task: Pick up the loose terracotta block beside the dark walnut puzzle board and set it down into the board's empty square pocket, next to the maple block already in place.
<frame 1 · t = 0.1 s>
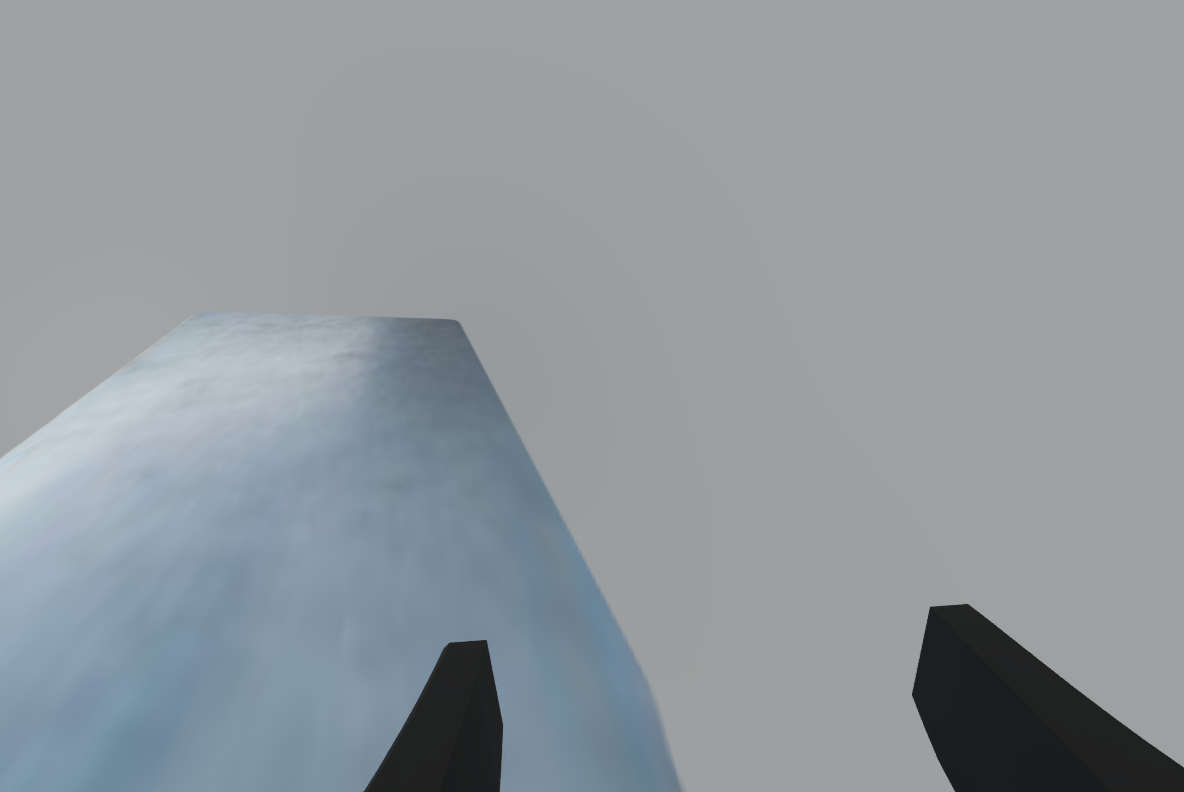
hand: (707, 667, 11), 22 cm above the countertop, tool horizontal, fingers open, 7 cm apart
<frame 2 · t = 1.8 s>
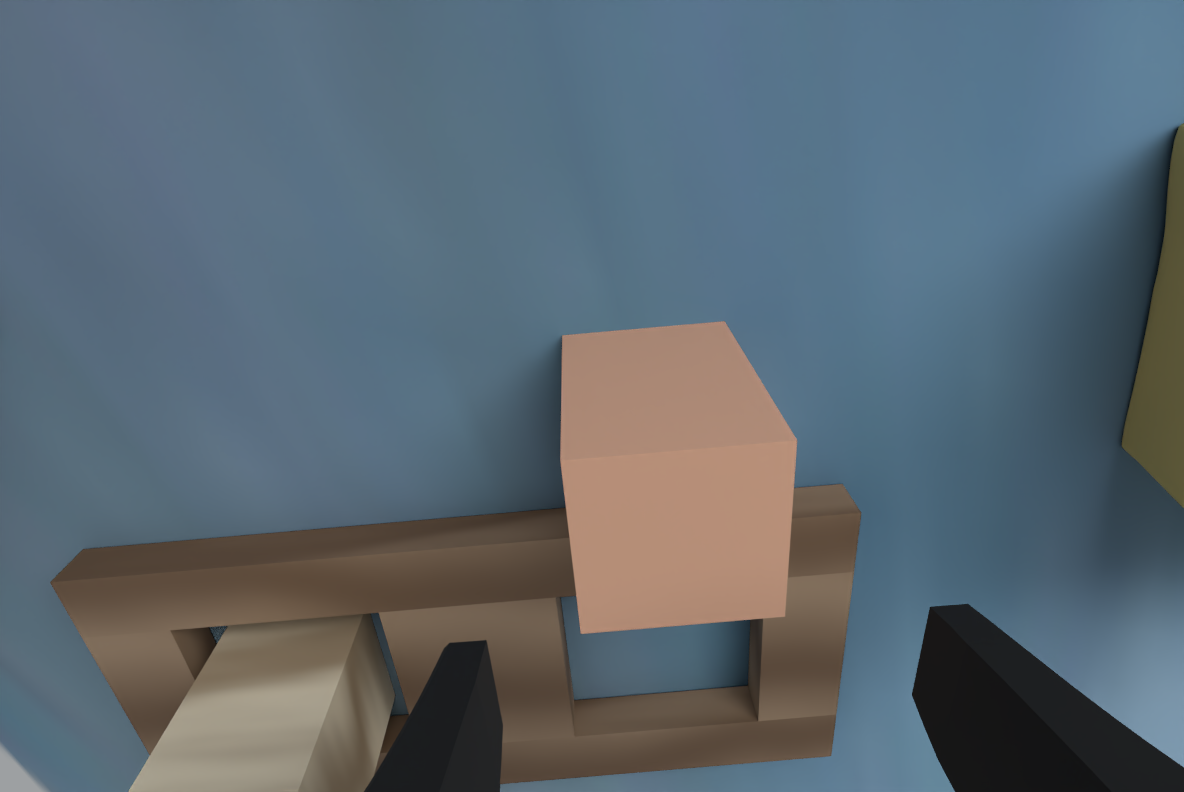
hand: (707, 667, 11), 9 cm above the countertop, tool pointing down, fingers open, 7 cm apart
terracotta block: (646, 400, 19), on the countertop
maple block: (318, 656, 24), resting in puzzle board
puzzle board: (487, 643, 23), on the countertop
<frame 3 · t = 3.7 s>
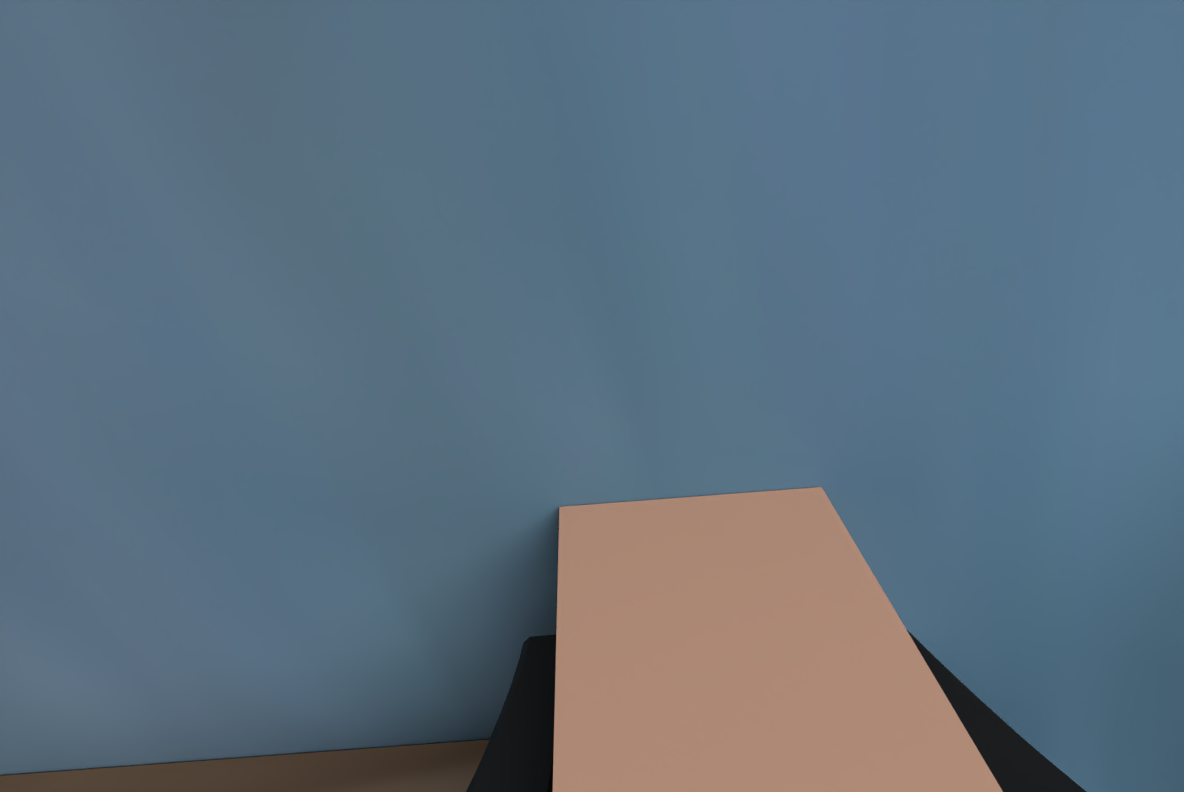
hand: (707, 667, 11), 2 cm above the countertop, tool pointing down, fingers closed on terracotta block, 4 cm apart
terracotta block: (690, 596, 12), on the countertop, touching gripper
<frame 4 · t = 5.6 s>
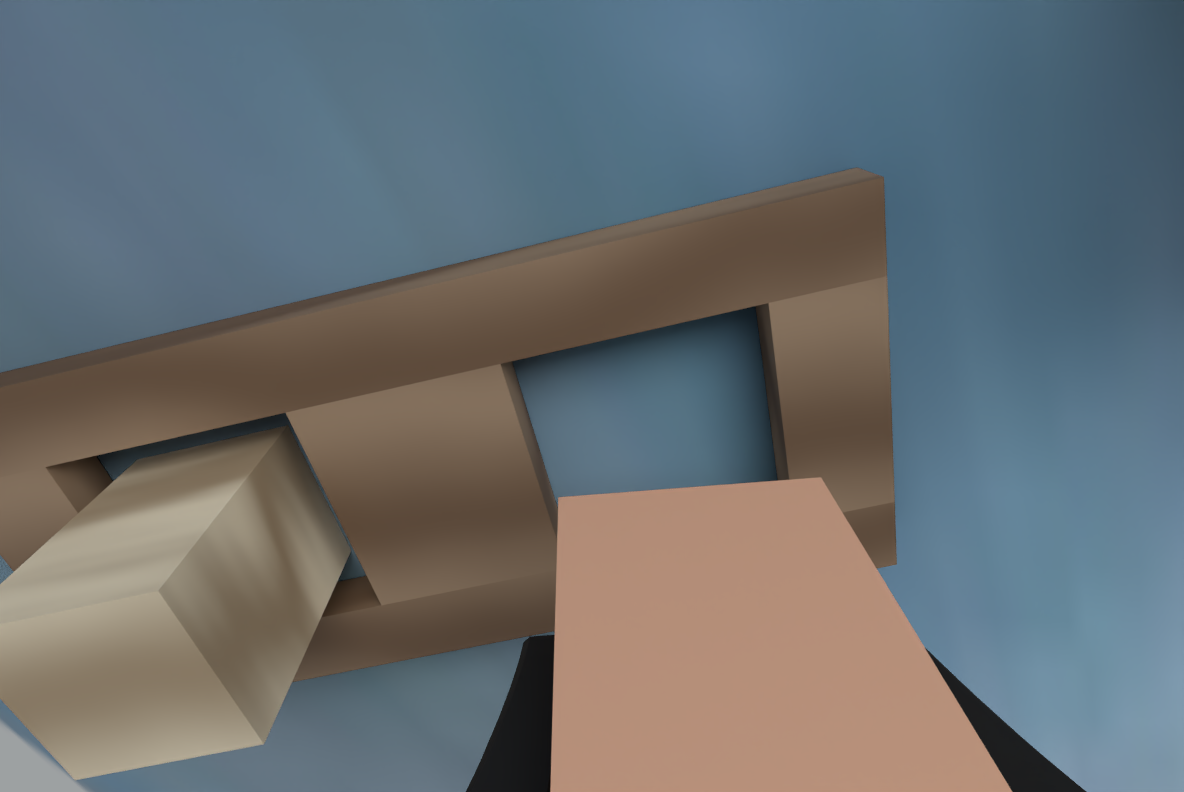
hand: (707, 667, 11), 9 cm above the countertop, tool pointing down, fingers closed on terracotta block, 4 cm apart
terracotta block: (690, 587, 12), point 7 cm above the countertop, touching gripper
maple block: (249, 506, 20), resting in puzzle board
puzzle board: (444, 465, 19), on the countertop
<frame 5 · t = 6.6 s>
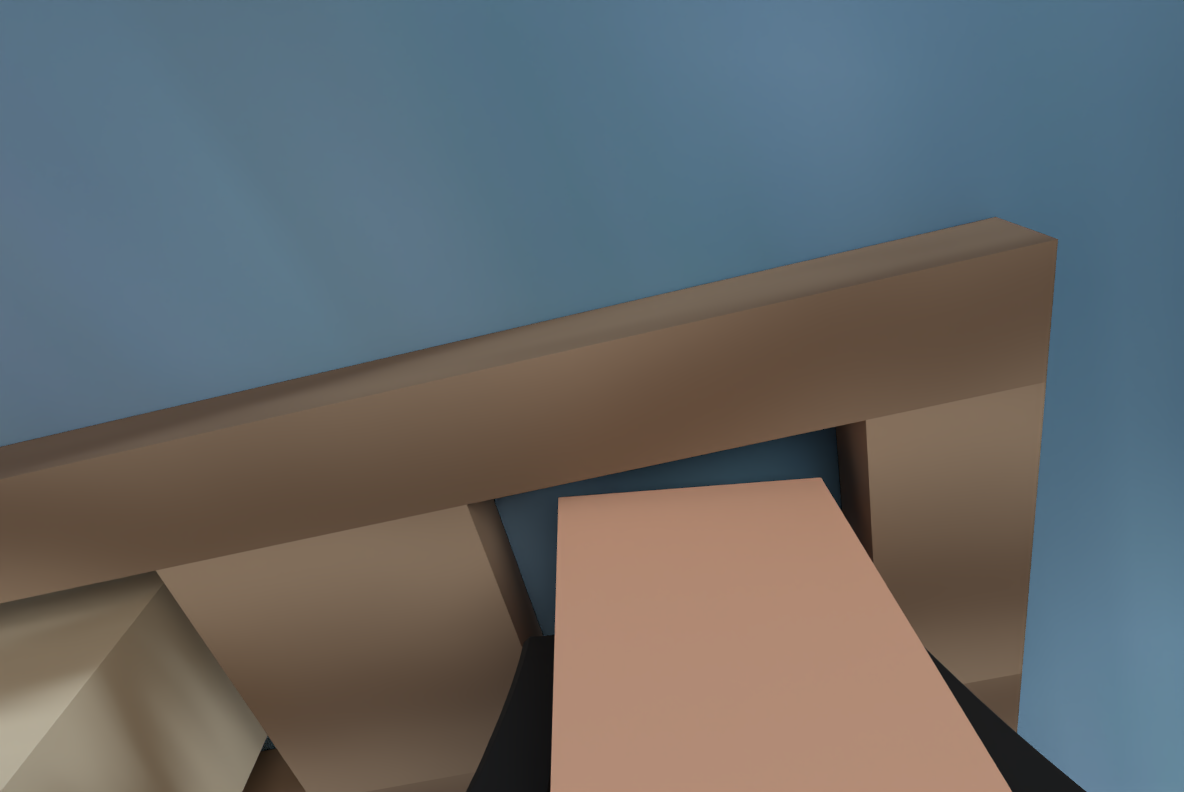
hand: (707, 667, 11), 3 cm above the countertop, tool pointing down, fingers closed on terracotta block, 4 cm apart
terracotta block: (690, 588, 12), point 1 cm above the countertop, touching gripper
maple block: (134, 664, 14), resting in puzzle board
puzzle board: (398, 613, 14), on the countertop
when the fingers open (3 cm above the countertop, at t = 7.5 s): terracotta block stays where it is, resting in puzzle board.
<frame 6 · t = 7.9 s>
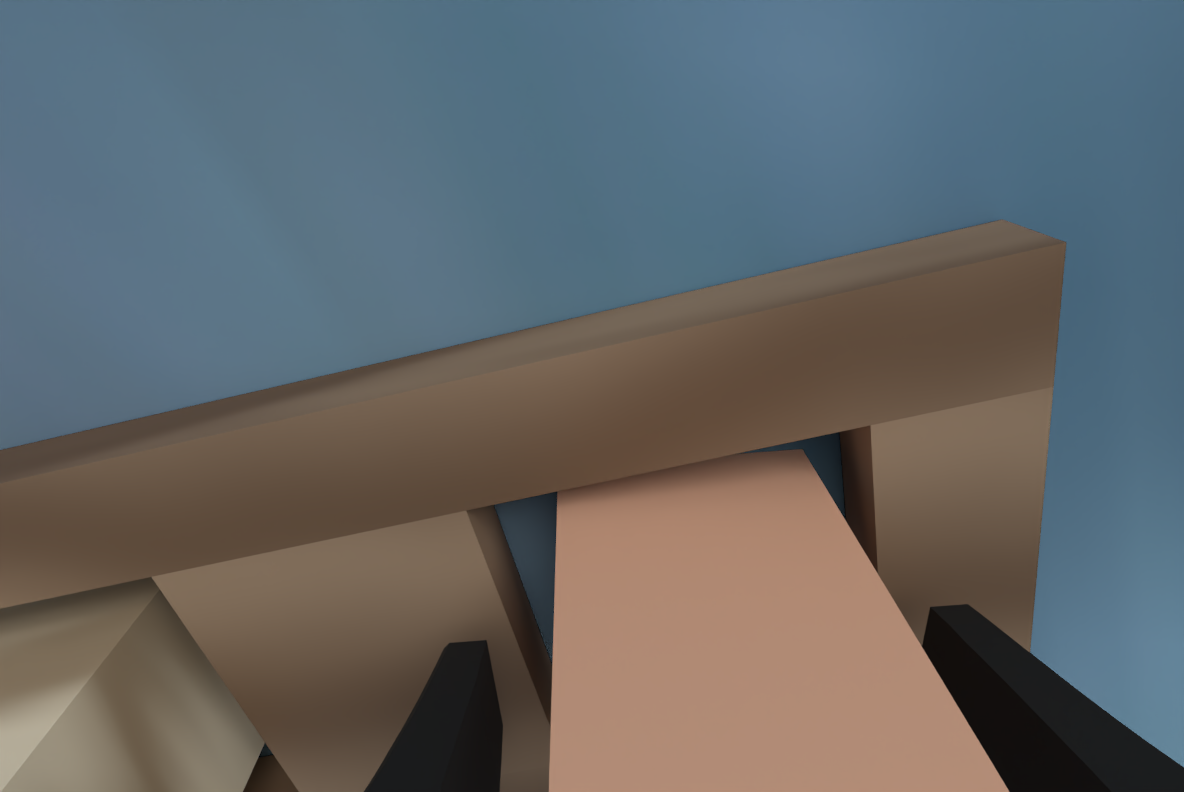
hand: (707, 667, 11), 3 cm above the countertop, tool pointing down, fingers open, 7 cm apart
terracotta block: (681, 553, 13), resting in puzzle board
maple block: (130, 670, 14), resting in puzzle board
puzzle board: (396, 619, 14), on the countertop
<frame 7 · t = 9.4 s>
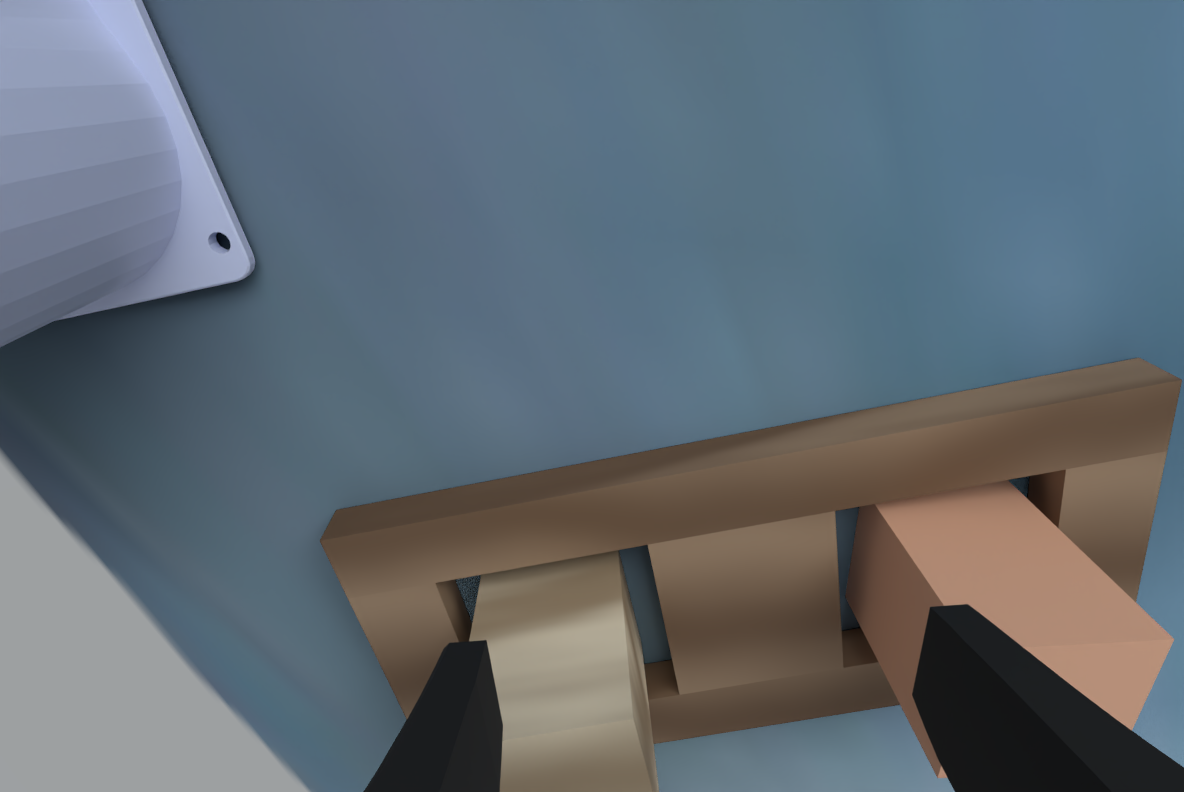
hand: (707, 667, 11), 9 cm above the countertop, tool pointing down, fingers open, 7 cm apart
terracotta block: (921, 540, 22), resting in puzzle board
maple block: (564, 606, 23), resting in puzzle board
puzzle board: (740, 577, 22), on the countertop
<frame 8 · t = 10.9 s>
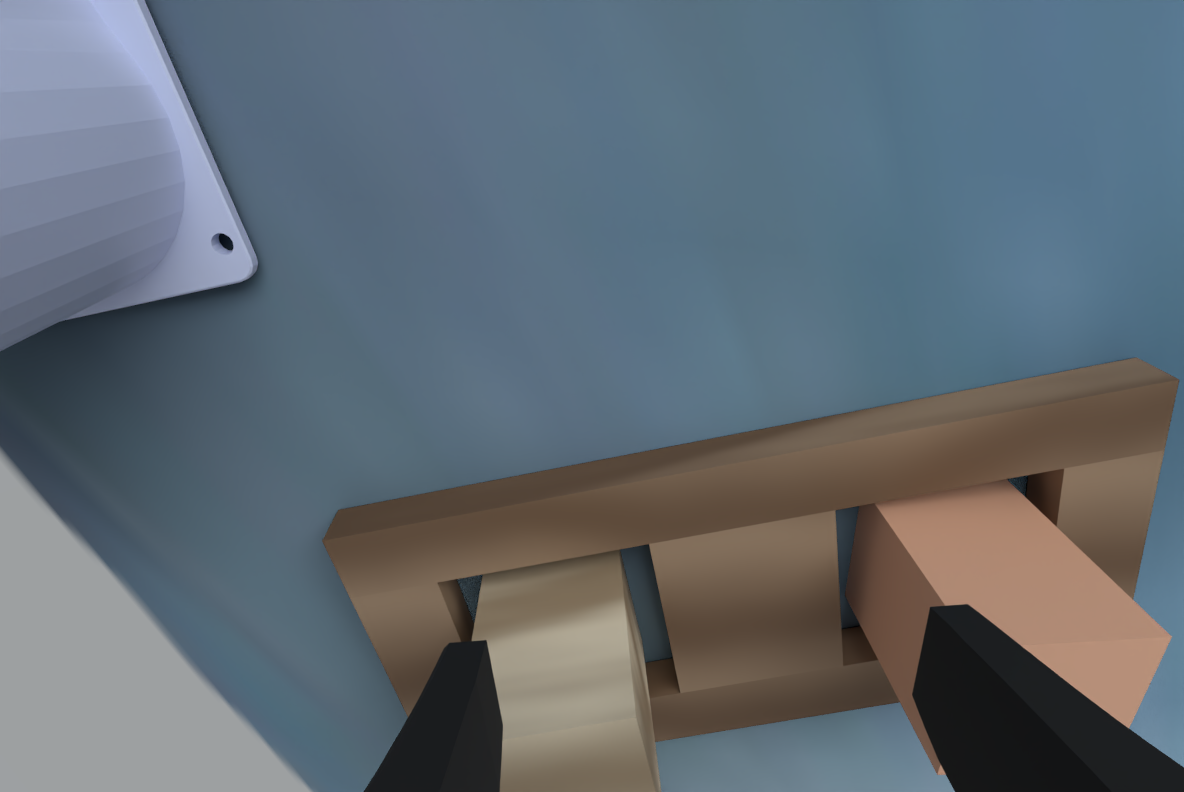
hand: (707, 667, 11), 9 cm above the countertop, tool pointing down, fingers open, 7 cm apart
terracotta block: (921, 538, 22), resting in puzzle board
maple block: (566, 605, 23), resting in puzzle board
puzzle board: (741, 575, 22), on the countertop
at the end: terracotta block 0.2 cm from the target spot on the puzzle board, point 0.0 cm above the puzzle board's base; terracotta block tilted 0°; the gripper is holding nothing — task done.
